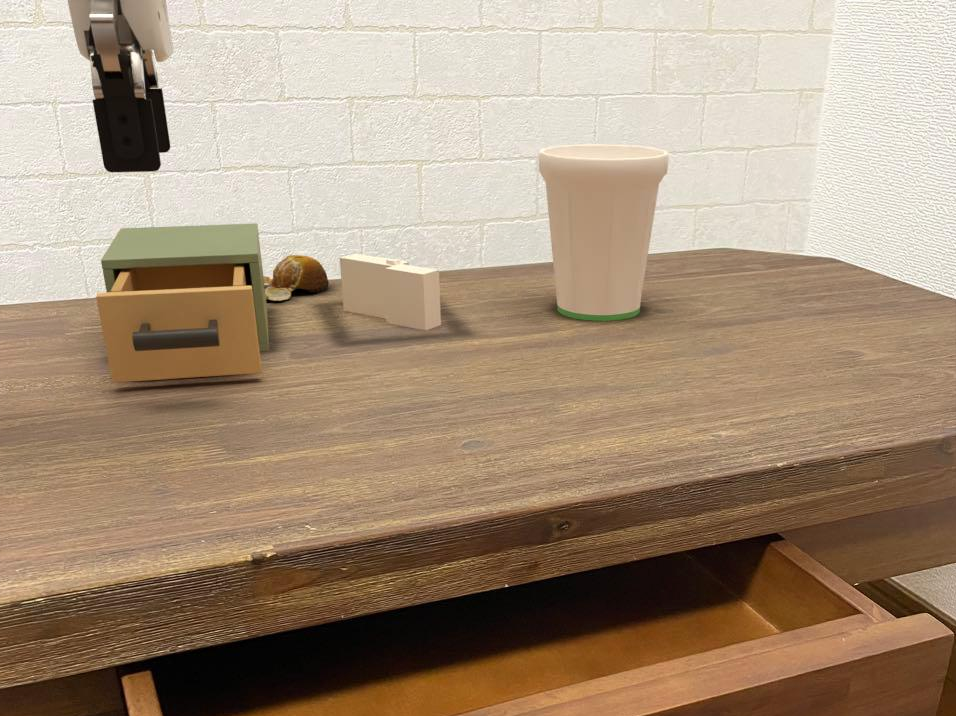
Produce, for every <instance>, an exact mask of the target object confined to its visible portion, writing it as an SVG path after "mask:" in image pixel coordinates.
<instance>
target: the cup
mask: <svg viewBox="0 0 956 716" xmlns="http://www.w3.org/2000/svg"><path fill="white" fill-rule="evenodd" d="M669 157H670V154H669V151H668V150H665V149H662V148H657V147H650V146H644V145H643V146H642V145H633V144H632V145H631V144H630V145H629V144H613V143H611V144H608V143H607V144H605V143H586V144H583V143H582V144H566V145H555V146H548V147H544V148H541V149H540V151H539V152H538V172H539V173H540V175H541V177H542V179H543V180H544V182H545V190H546V191H545V192H546V202H547V209H548V212H547V213H548V222H549V232H550V243H551V244H550V245H551V255H552V263H553V275H554V285H555V293H556V294H555V296H556V306H557V312H558V313H559V314H561V315H562V316H565V317H568V318H572V319H574V320H582V321H594V322H611V321H622V320H626V319H631V318H634V317H636V316H638V315H639V314H640V312H641V300H642V294H643V288H644V282H645V275H646V269H647V264H648V263H647V262H648V257H649V252H650V251H649V250H650V245H651V244H650V243H651V237H652V231H653V225H654V224H653V223H654V218H655V212H656V206H657V199H658V193H659V186H660V183H661V182H662V181H663V179H664V177H665V176H666V175H667V174H668V167H669Z"/></svg>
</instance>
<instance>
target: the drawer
mask: <svg viewBox="0 0 956 716" xmlns="http://www.w3.org/2000/svg"><path fill="white" fill-rule="evenodd" d="M95 299H96V304H97V309H98V314H99V320H100V325H101V331H102V336H103V343H104V346H105V347H104V348H105V352H106V357H107V364H108V368H109V374H110V378H111V383H114V384H115V383H129V382H131V383H132V382H145V381H159V380H174V379H190V378H191V379H192V378H206V377H216V376H217V377H218V376H234V375H235V376H236V375H248V374H249V375H250V374H261V373H262V372H263V371H262V368H263V367H262V360H261V351H259V342H258V334H257V325H256V317H255V309H254V300H253V292H252V286H251V285H250V286H248V285H247V277H246V268H245V263H237V264H215V265H192V266H169V267H146V268H124V269H122V270H121V272H120V274H119V276H118V278H117V280H116V281H115V283H114V285H113V287H112V289H111V291H110V292H106V291H105V292H98V293H97V294H96V296H95Z"/></svg>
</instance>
